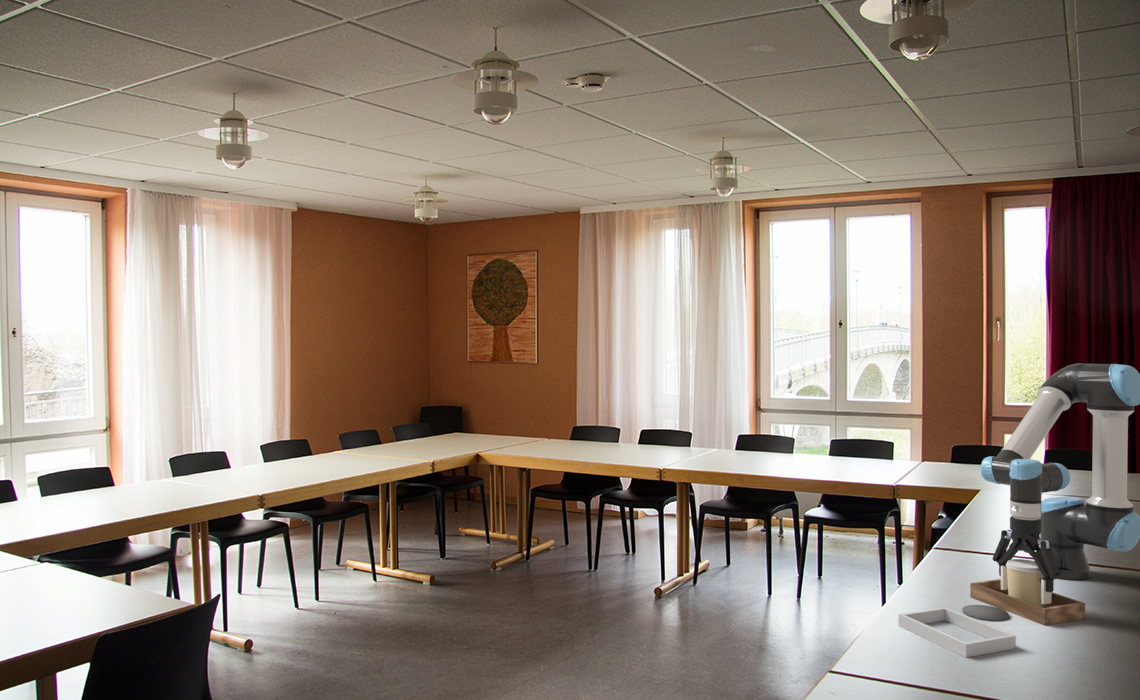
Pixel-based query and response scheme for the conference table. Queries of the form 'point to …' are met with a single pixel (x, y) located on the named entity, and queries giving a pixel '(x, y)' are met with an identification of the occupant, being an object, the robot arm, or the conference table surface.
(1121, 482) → the robot arm
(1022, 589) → the coffee cup
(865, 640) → the conference table surface
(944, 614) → the gray rectangular frame
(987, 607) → the coaster
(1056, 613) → the frame
